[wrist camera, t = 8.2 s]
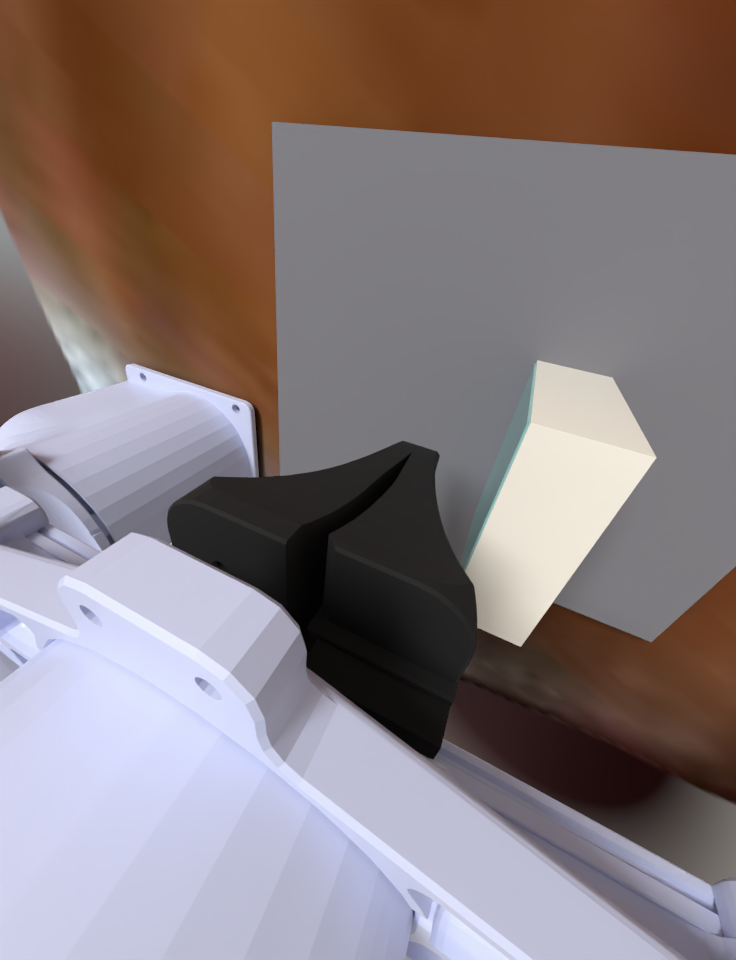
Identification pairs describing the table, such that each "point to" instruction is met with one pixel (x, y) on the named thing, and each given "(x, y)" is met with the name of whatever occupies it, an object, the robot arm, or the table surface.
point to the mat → (516, 327)
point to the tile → (550, 494)
